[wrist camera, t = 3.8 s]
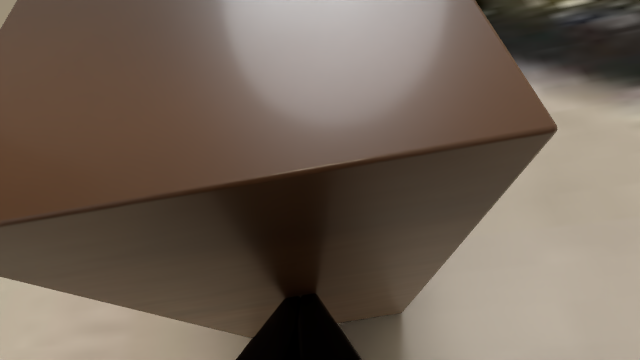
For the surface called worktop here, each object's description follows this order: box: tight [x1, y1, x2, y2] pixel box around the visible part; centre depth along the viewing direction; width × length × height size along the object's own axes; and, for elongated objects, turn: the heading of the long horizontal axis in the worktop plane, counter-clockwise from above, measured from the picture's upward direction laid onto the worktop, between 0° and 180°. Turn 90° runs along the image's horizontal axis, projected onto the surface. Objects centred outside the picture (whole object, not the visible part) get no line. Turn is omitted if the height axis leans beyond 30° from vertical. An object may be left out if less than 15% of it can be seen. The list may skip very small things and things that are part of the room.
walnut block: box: [0, 0, 557, 337], centre depth 11 cm, size 8×7×13 cm
